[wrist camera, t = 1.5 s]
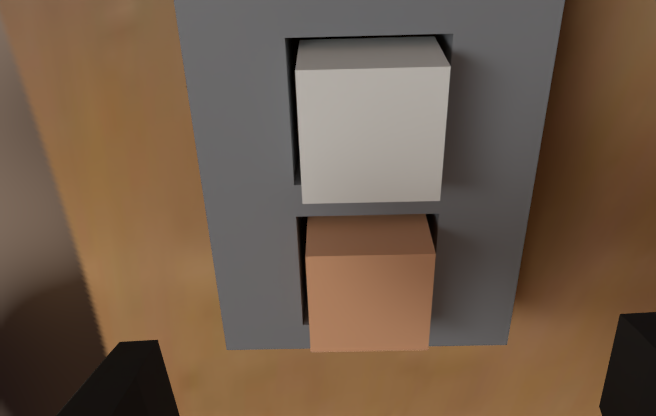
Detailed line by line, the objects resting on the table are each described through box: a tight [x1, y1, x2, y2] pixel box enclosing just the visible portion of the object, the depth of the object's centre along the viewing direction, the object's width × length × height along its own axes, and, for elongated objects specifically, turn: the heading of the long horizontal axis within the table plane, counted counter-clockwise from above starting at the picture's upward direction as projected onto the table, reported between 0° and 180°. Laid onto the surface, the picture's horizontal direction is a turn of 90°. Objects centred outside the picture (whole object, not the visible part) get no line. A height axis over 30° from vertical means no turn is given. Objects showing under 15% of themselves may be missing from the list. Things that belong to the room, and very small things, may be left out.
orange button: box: [305, 214, 436, 352], centre depth 18 cm, size 3×3×2 cm
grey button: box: [295, 36, 451, 204], centre depth 15 cm, size 3×3×2 cm
